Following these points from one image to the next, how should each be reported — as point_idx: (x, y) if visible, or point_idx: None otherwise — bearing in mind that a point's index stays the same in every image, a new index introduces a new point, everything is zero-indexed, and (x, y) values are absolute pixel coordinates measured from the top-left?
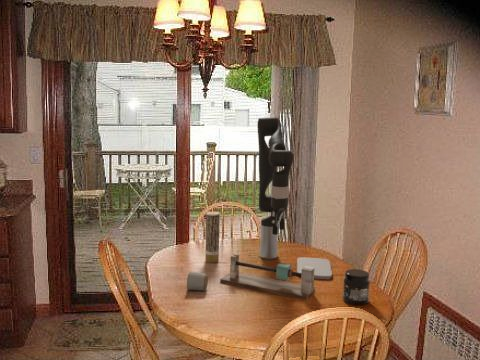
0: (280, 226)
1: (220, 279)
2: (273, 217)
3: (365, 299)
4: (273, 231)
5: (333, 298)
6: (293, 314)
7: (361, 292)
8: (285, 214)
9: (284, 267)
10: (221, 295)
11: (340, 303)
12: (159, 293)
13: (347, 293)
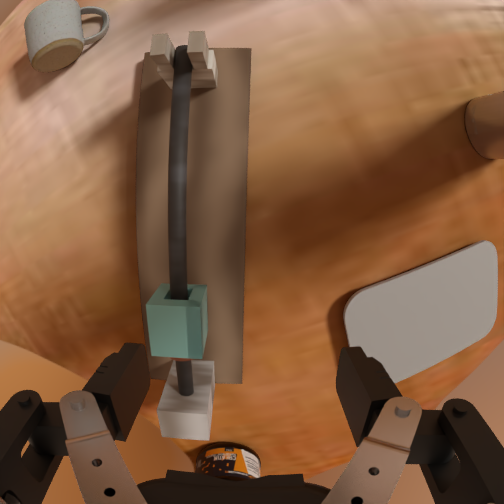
0: (350, 372)
1: (145, 54)
2: (1, 486)
3: None
4: (102, 371)
5: (212, 424)
6: (61, 359)
7: None
8: (435, 495)
9: (150, 341)
10: (52, 128)
11: (190, 439)
12: (25, 5)
13: (197, 467)
